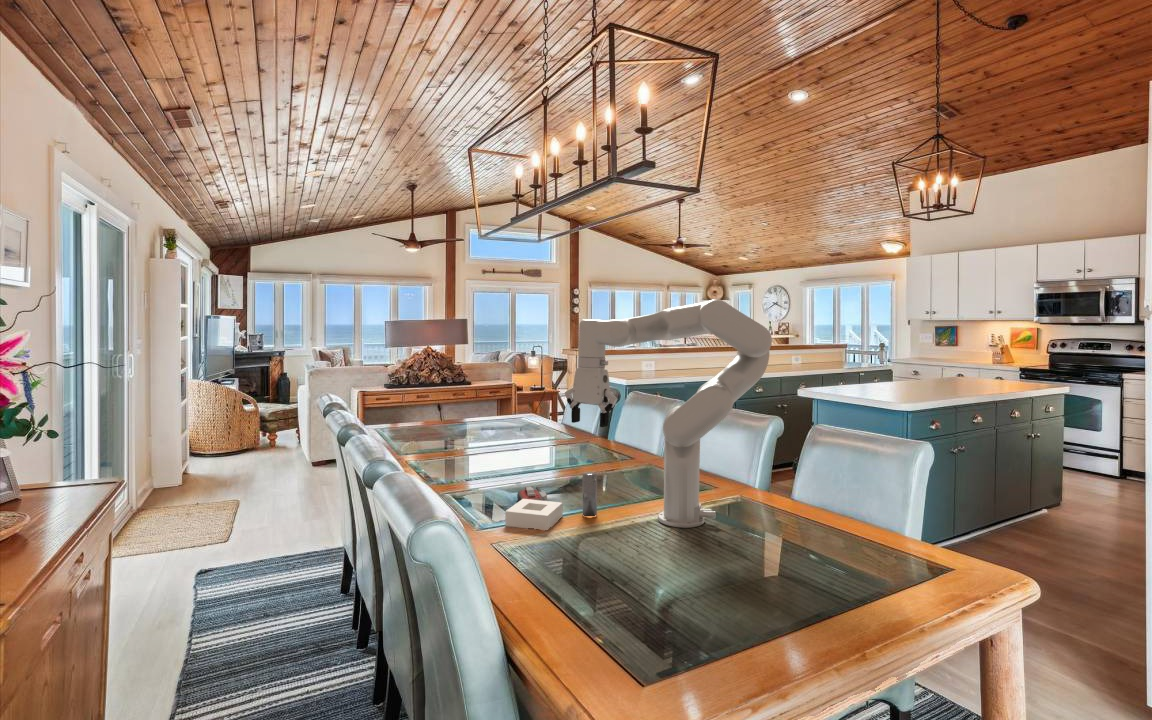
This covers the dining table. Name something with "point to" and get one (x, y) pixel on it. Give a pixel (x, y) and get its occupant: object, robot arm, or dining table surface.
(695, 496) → the robot arm
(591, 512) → the peg
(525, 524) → the socket block
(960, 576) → the dining table surface
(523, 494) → the walkie-talkie
